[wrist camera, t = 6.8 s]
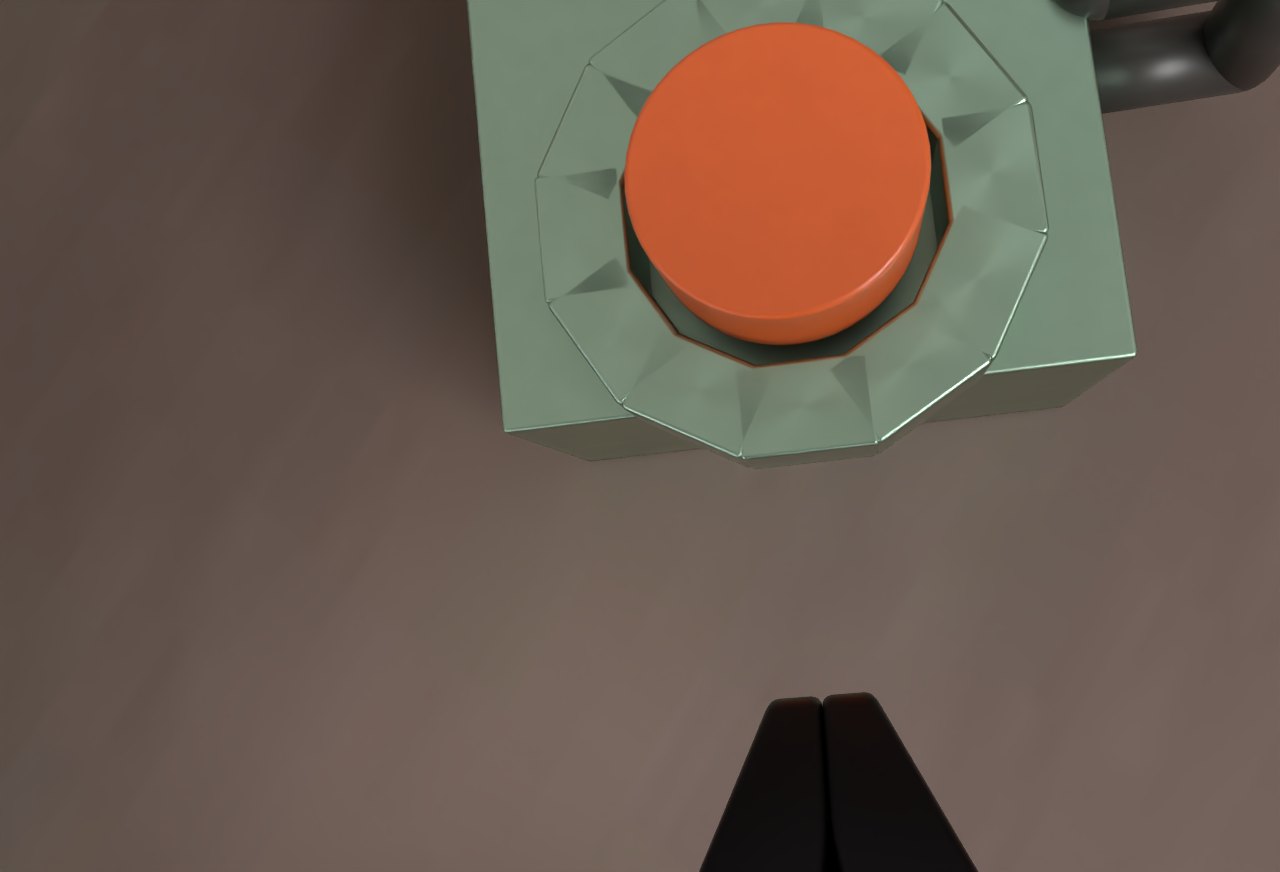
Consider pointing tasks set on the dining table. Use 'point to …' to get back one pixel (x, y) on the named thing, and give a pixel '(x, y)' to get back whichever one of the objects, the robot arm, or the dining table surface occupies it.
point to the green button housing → (851, 359)
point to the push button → (779, 181)
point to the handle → (1180, 50)
